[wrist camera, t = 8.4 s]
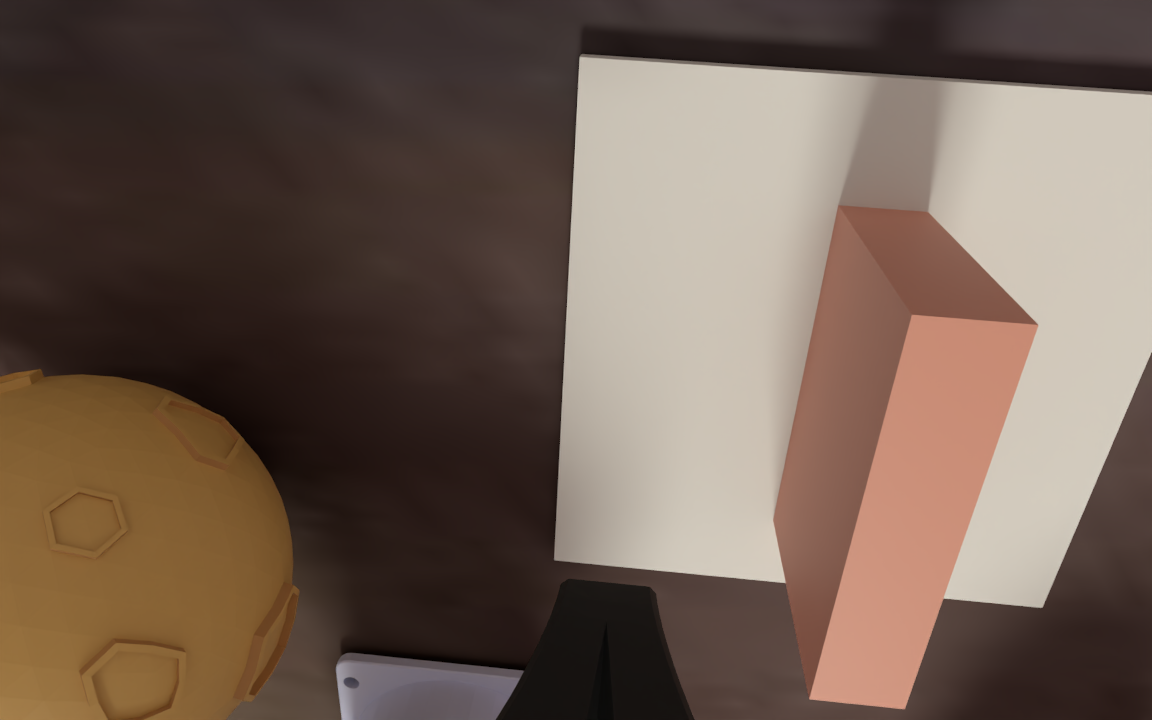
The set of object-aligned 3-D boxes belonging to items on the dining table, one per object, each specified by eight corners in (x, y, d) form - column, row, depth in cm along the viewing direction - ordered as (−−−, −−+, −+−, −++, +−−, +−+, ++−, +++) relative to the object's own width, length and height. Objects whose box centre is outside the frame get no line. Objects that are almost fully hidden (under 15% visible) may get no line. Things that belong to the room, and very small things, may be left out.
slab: (846, 526, 23) (905, 708, 17) (773, 520, 23) (809, 698, 17) (927, 211, 18) (1038, 325, 13) (838, 205, 19) (912, 314, 13)
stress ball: (201, 585, 28) (362, 770, 21) (-192, 716, 21) (-124, 1046, 15) (195, 303, 25) (382, 421, 18) (-269, 346, 18) (-228, 562, 11)
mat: (1034, 595, 24) (1042, 608, 23) (555, 548, 25) (554, 560, 24) (1242, 98, 17) (1257, 102, 17) (581, 54, 18) (579, 57, 18)
